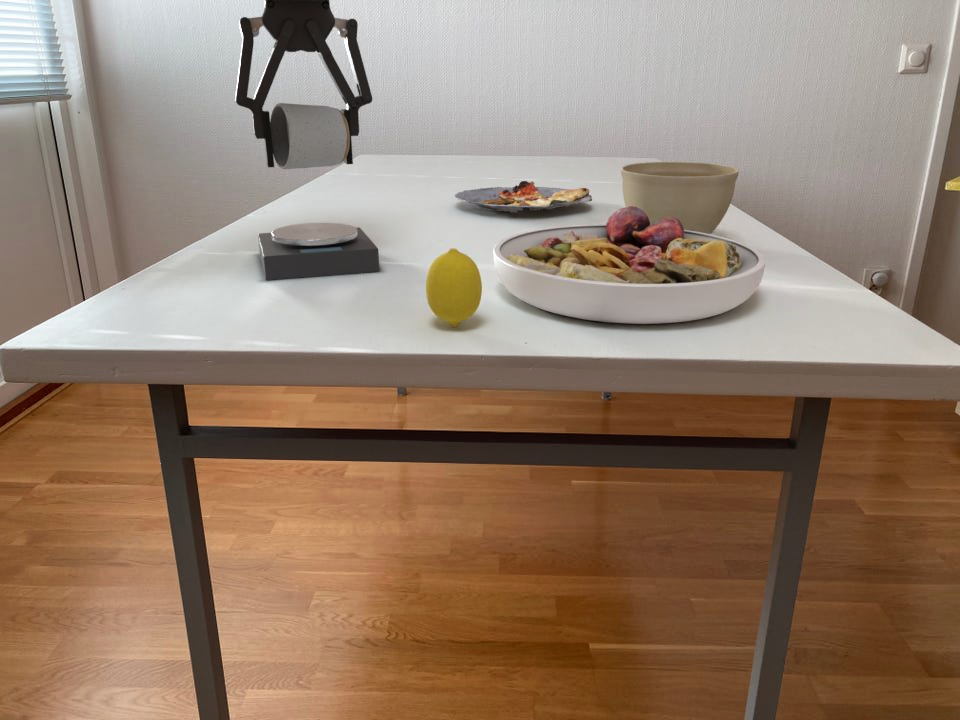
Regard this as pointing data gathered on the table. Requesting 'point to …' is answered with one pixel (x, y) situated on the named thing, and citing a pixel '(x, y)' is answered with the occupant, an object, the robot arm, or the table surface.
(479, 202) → the food plate
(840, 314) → the table surface
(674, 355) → the table surface
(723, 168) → the planter bowl
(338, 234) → the scale pan
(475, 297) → the lemon
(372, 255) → the scale
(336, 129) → the ceramic mug
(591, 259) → the bowl
